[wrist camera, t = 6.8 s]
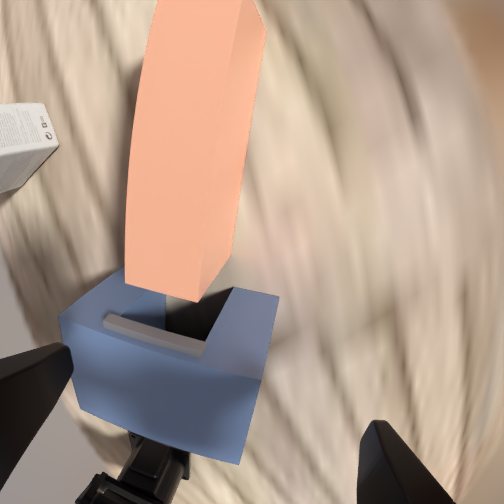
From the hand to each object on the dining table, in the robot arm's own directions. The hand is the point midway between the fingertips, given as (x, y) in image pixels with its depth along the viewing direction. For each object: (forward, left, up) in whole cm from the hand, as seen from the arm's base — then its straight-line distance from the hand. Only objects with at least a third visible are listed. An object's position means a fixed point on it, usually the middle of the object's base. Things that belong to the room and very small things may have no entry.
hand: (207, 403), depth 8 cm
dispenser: (-6, +4, -11) cm, 13 cm away
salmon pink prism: (+6, +4, -11) cm, 13 cm away
